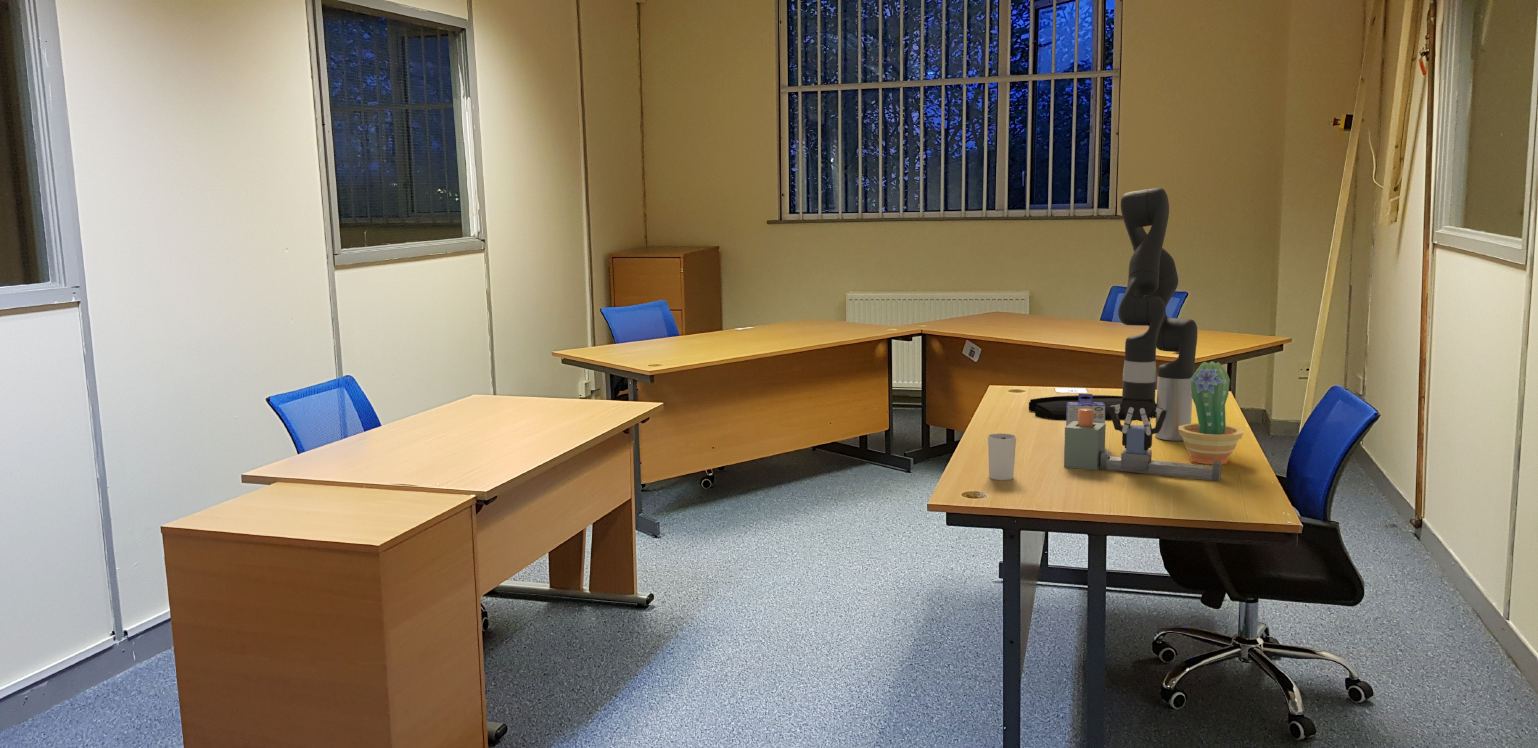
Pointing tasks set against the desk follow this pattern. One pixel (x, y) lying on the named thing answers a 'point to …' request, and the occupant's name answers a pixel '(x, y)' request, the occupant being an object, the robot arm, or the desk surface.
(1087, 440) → the grey-green socket block
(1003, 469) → the cream cup
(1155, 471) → the rail
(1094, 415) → the ink cartridge box
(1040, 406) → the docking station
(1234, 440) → the potted cactus
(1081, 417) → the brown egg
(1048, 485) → the desk surface
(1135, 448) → the carriage
